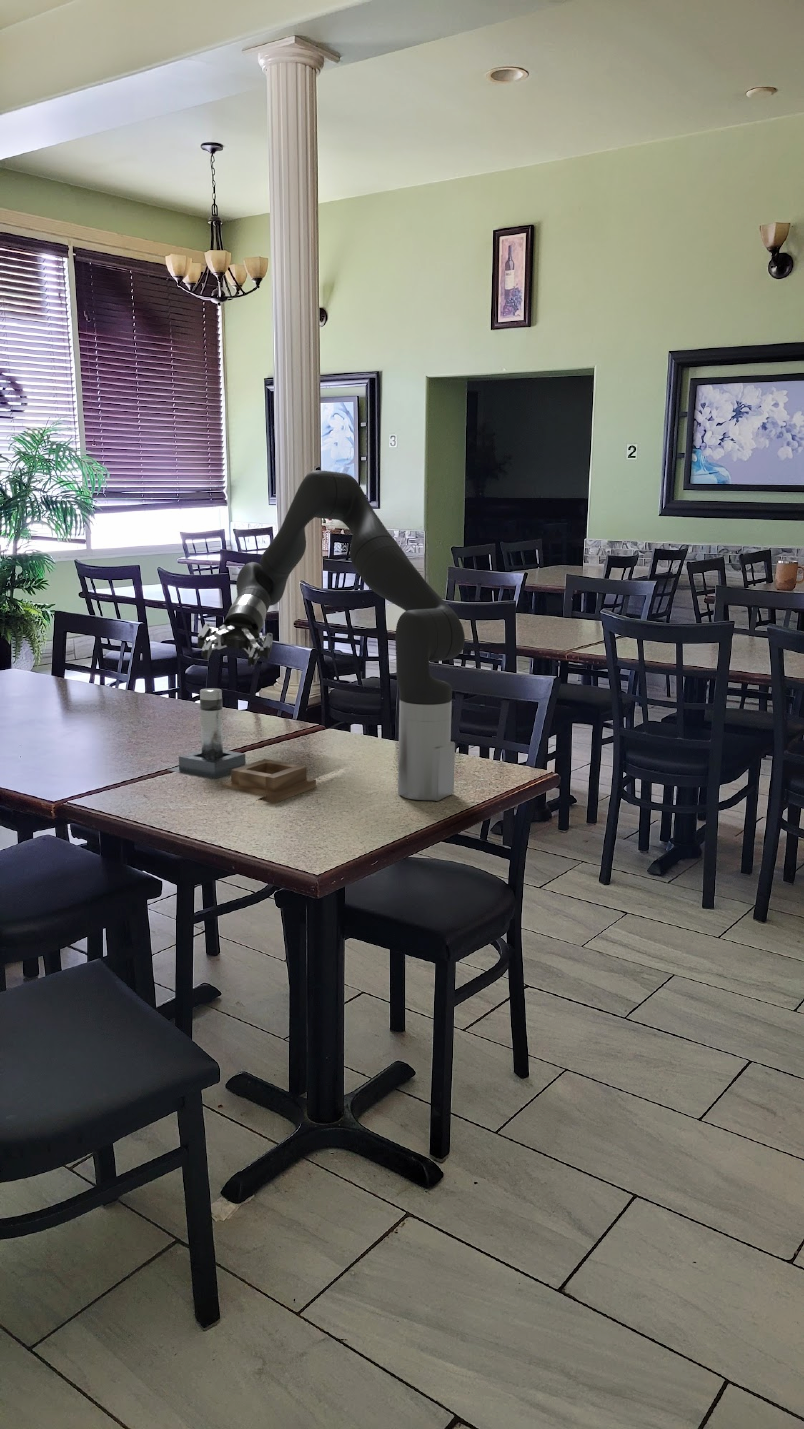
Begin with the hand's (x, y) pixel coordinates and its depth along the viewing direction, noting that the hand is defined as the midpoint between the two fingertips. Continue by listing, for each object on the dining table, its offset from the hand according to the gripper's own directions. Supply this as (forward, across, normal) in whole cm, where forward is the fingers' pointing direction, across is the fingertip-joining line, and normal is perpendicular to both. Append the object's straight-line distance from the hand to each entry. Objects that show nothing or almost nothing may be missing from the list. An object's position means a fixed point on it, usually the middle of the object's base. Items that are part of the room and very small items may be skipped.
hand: (227, 659), depth 200 cm
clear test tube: (+14, +1, +16) cm, 21 cm away
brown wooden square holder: (+23, +13, +12) cm, 29 cm away
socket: (+14, +1, +17) cm, 22 cm away
